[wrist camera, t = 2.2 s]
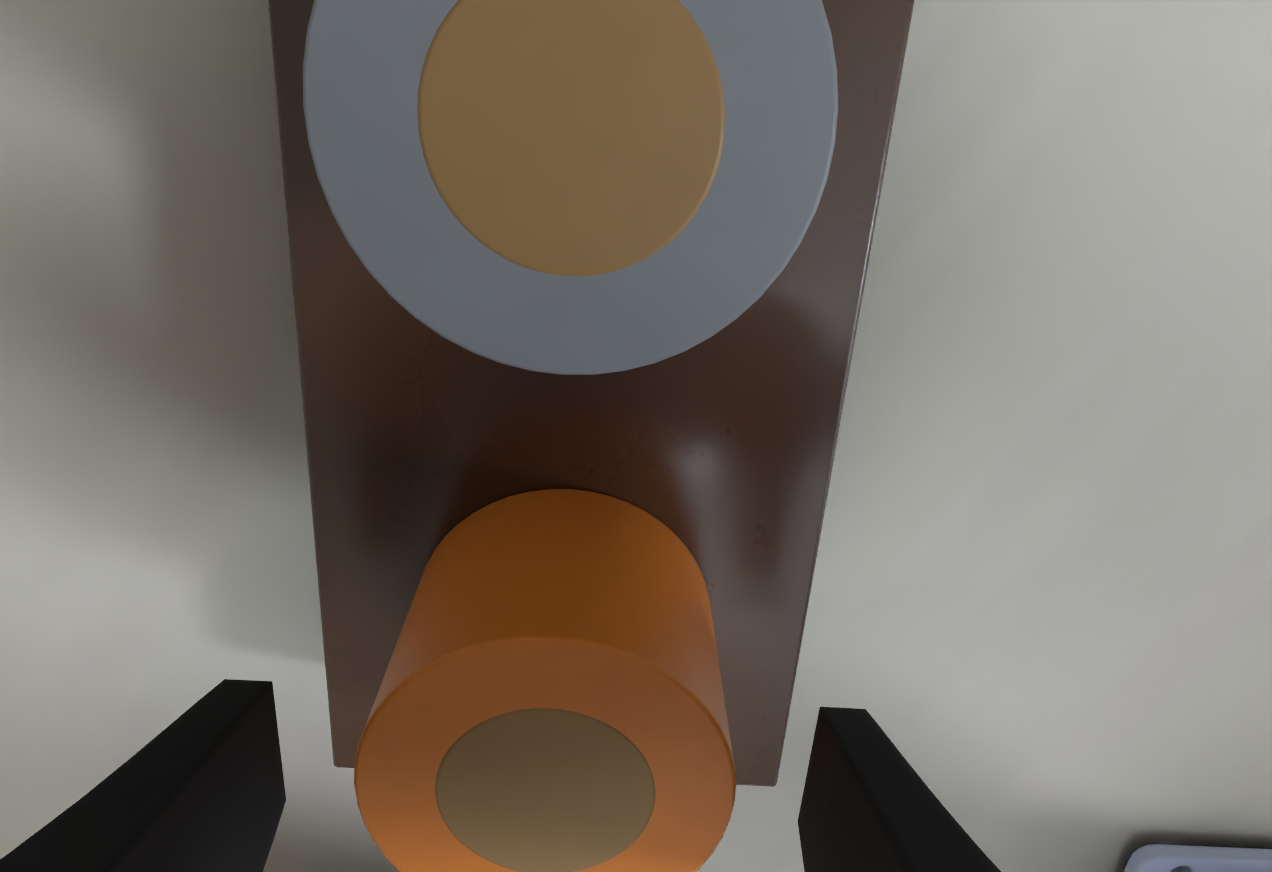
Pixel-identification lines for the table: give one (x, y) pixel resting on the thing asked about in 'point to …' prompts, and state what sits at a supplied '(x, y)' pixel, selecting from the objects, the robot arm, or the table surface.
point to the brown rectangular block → (588, 416)
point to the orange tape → (551, 700)
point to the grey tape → (572, 164)
